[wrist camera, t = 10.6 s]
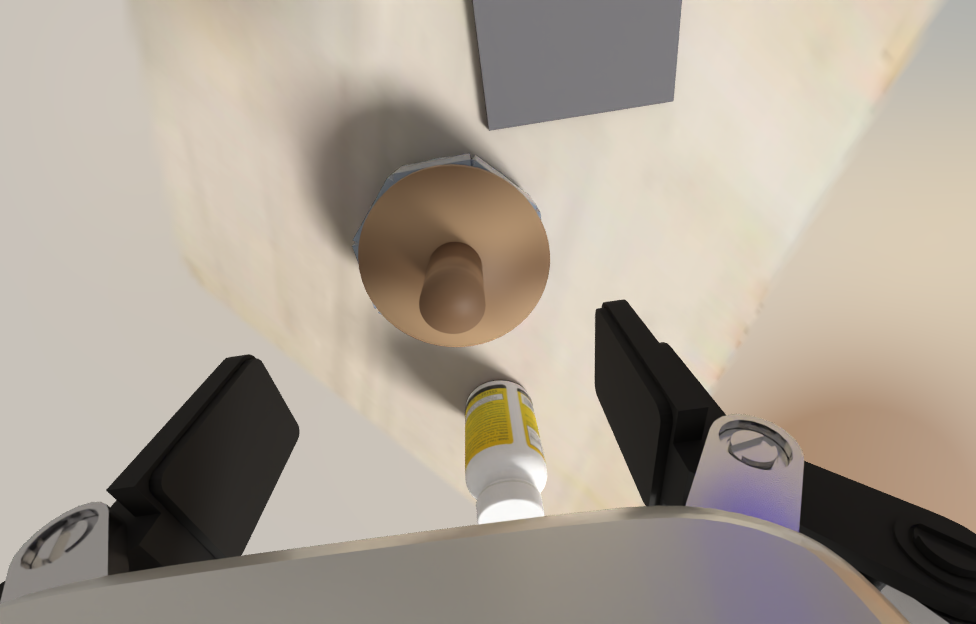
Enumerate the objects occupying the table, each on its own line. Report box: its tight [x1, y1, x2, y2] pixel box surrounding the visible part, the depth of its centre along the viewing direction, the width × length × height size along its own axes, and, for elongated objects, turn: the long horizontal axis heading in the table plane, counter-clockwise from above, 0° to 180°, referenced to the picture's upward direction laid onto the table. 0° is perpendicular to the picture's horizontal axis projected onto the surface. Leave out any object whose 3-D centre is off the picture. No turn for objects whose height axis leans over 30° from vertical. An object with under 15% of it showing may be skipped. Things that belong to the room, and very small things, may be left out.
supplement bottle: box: [465, 380, 547, 524], centre depth 26 cm, size 5×5×10 cm
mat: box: [472, 0, 682, 131], centre depth 18 cm, size 10×10×1 cm
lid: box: [358, 164, 550, 347], centre depth 18 cm, size 10×10×5 cm
